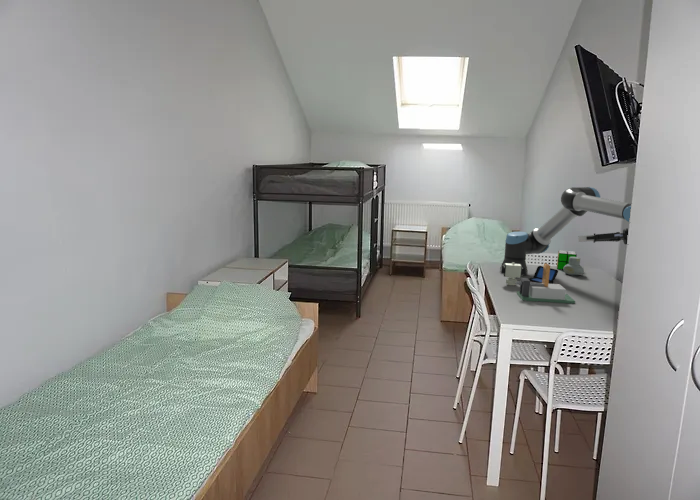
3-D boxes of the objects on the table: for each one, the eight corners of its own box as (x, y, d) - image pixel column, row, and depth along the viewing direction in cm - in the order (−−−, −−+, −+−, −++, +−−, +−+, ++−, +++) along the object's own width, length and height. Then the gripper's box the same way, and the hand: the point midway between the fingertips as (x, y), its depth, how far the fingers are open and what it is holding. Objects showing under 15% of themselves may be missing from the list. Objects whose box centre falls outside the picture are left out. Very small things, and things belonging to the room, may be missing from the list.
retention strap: (545, 284, 261) (547, 263, 259) (548, 286, 256) (550, 265, 254) (515, 282, 262) (517, 262, 260) (517, 285, 257) (519, 264, 255)
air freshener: (585, 275, 312) (587, 258, 310) (577, 277, 307) (579, 260, 305) (568, 271, 320) (570, 255, 319) (560, 273, 316) (562, 256, 314)
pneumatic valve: (523, 286, 281) (525, 264, 278) (500, 285, 282) (502, 262, 280) (521, 284, 286) (524, 261, 284) (499, 282, 288) (501, 260, 286)
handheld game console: (525, 280, 295) (526, 267, 294) (537, 278, 302) (538, 265, 300) (545, 285, 285) (547, 272, 284) (557, 283, 292) (558, 269, 290)
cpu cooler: (567, 296, 265) (569, 278, 263) (575, 303, 253) (577, 284, 251) (516, 293, 266) (518, 276, 265) (522, 300, 255) (524, 282, 253)
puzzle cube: (574, 267, 333) (575, 251, 331) (574, 271, 323) (576, 254, 321) (556, 266, 336) (558, 250, 334) (557, 269, 327) (558, 253, 325)
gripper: (637, 242, 245) (581, 244, 251) (630, 245, 258) (577, 248, 264) (636, 225, 246) (579, 228, 252) (629, 230, 259) (576, 233, 265)
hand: (578, 238), depth 258 cm, fingers closed
